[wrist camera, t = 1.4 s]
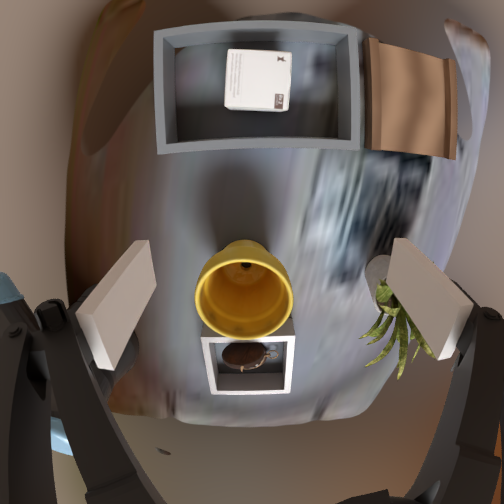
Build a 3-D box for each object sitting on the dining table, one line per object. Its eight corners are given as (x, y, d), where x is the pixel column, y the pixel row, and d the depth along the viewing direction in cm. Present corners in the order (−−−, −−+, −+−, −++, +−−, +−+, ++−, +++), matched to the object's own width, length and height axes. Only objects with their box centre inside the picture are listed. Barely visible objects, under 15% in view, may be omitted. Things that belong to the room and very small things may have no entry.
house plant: (307, 291, 41) (332, 378, 26) (359, 206, 36) (421, 263, 21) (380, 321, 44) (419, 396, 29) (429, 250, 38) (493, 310, 24)
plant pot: (287, 225, 37) (299, 260, 28) (281, 295, 41) (288, 342, 32) (205, 223, 37) (190, 256, 28) (207, 293, 41) (197, 338, 32)
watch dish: (213, 377, 48) (211, 394, 45) (204, 319, 43) (200, 337, 39) (287, 375, 48) (289, 393, 45) (292, 318, 43) (295, 335, 39)
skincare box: (231, 62, 29) (226, 47, 22) (284, 65, 29) (292, 50, 22) (229, 111, 31) (223, 107, 25) (281, 113, 31) (289, 110, 25)
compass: (232, 367, 48) (230, 400, 41) (223, 333, 44) (219, 367, 38) (279, 363, 47) (282, 396, 40) (275, 327, 44) (278, 361, 37)
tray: (364, 147, 33) (371, 149, 31) (362, 41, 27) (369, 37, 25) (445, 157, 33) (455, 160, 30) (445, 62, 27) (455, 60, 25)
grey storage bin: (170, 150, 33) (157, 154, 28) (166, 42, 27) (154, 31, 23) (345, 146, 33) (359, 150, 28) (342, 38, 27) (356, 27, 22)
